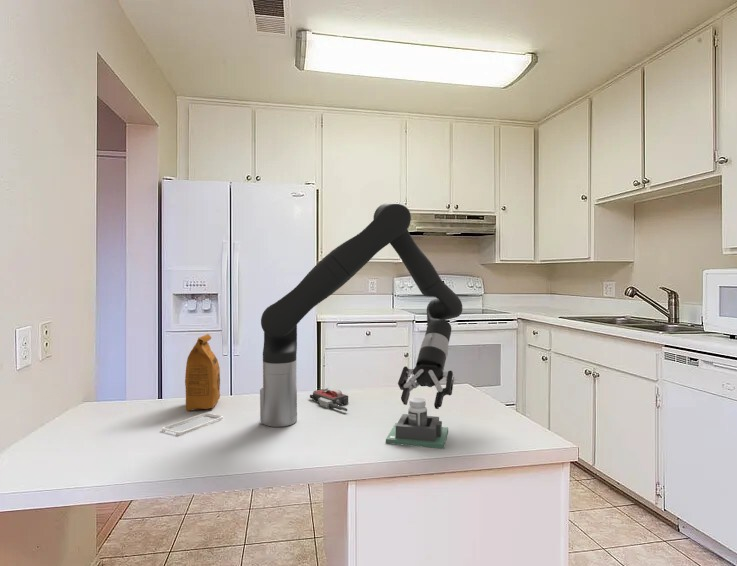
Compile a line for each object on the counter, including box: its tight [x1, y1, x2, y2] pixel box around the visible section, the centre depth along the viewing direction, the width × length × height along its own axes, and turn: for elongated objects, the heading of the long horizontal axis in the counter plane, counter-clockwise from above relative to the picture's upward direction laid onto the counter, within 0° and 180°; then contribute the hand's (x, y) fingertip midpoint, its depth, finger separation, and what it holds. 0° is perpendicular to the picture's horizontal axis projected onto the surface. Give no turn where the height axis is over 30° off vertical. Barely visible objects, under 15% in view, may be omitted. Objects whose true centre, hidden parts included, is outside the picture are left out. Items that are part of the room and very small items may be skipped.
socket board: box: [385, 413, 449, 449], centre depth 114 cm, size 14×12×4 cm
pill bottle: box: [407, 397, 428, 426], centre depth 114 cm, size 5×5×8 cm
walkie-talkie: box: [309, 387, 349, 412], centre depth 143 cm, size 9×4×20 cm
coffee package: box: [184, 333, 221, 412], centre depth 141 cm, size 10×12×22 cm
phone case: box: [161, 412, 224, 436], centre depth 124 cm, size 7×1×15 cm
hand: (420, 405), depth 115 cm, fingers open, 8 cm apart
